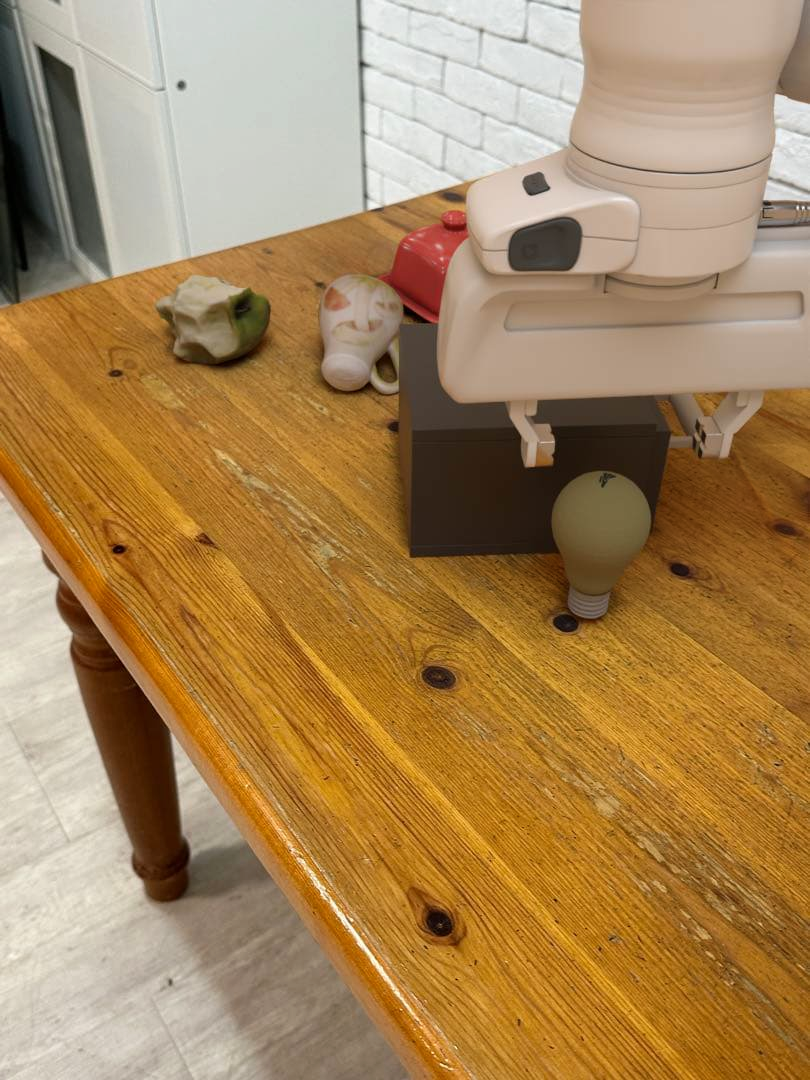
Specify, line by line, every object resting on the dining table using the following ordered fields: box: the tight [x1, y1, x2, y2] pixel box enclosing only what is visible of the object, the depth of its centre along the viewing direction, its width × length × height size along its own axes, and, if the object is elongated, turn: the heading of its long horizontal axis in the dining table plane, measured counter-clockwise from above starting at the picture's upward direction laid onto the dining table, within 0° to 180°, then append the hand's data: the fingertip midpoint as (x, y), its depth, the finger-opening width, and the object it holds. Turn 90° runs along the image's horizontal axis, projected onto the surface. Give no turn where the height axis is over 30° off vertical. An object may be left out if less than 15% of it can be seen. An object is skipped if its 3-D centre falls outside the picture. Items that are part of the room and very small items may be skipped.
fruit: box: [154, 274, 272, 365], centre depth 88 cm, size 9×9×8 cm
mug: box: [317, 273, 405, 395], centre depth 86 cm, size 8×10×10 cm
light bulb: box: [551, 471, 651, 620], centre depth 61 cm, size 6×6×10 cm
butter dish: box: [376, 209, 469, 323], centre depth 95 cm, size 12×12×8 cm
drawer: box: [644, 394, 706, 534], centre depth 71 cm, size 18×13×8 cm
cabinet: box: [397, 322, 657, 558], centre depth 71 cm, size 15×14×10 cm
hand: (623, 457), depth 56 cm, fingers open, 8 cm apart
